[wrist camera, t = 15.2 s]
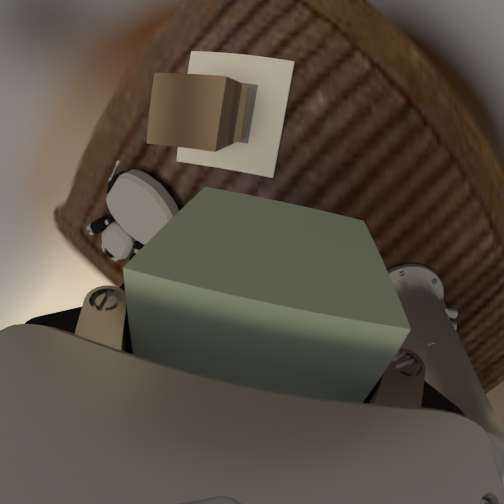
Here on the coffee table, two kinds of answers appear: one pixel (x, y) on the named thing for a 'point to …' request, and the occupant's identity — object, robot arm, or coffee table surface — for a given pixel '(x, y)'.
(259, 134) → the board
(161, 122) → the walnut block
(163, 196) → the robot toy
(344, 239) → the sage block
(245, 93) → the oak block
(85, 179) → the coffee table surface
